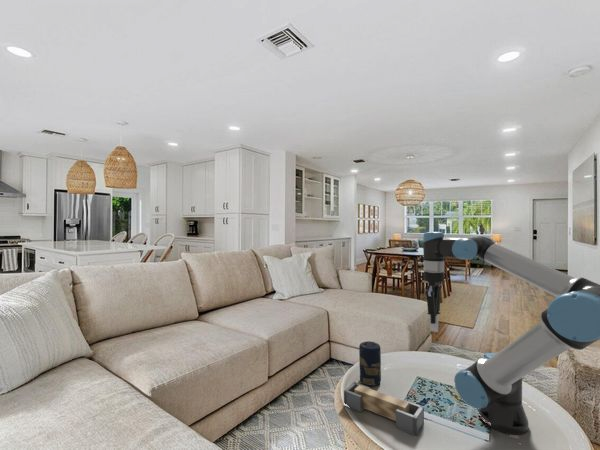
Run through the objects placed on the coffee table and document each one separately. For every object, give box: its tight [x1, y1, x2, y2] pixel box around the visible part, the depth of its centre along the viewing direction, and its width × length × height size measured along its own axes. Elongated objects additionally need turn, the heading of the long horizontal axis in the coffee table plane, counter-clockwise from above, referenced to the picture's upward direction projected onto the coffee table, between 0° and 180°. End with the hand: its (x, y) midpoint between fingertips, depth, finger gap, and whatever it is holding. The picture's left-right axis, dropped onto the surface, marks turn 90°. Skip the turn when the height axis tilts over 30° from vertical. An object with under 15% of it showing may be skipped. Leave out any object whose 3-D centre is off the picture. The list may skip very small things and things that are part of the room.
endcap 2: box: [395, 399, 425, 437], centre depth 109 cm, size 7×8×6 cm
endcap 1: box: [343, 381, 371, 413], centre depth 122 cm, size 7×8×6 cm
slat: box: [354, 385, 409, 422], centre depth 116 cm, size 20×4×6 cm, turn 52°
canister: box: [358, 340, 382, 386], centre depth 139 cm, size 10×10×18 cm
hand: (434, 330), depth 121 cm, fingers closed
